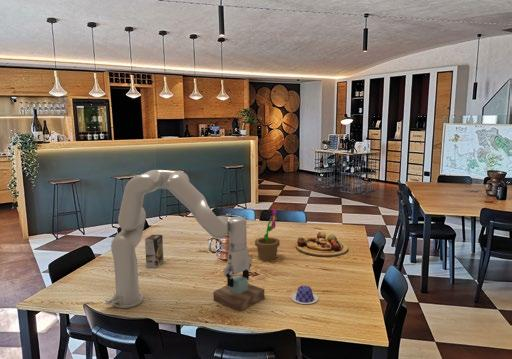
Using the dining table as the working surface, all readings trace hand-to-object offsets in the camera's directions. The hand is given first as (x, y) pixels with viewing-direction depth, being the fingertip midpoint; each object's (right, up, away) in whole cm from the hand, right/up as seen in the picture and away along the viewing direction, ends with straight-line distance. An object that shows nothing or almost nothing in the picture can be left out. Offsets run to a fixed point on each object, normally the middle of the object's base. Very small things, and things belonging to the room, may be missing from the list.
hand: (238, 282), depth 167 cm
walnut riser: (0, -8, +1) cm, 8 cm away
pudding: (+29, -8, +1) cm, 30 cm away
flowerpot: (+14, 0, +51) cm, 53 cm away
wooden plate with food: (+48, +2, +67) cm, 82 cm away
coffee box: (-48, -2, +43) cm, 64 cm away
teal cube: (0, -4, +1) cm, 4 cm away
